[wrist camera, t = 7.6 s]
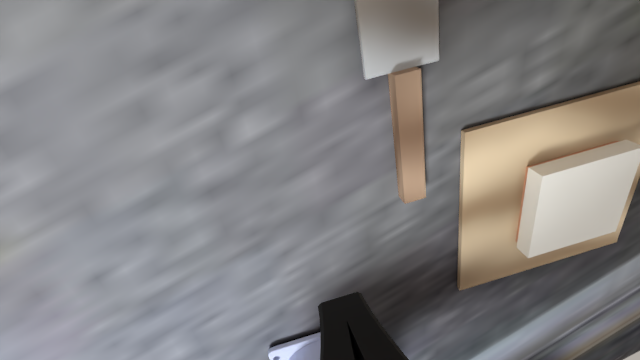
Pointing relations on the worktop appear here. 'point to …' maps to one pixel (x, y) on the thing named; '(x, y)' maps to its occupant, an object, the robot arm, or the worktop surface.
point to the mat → (509, 173)
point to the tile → (575, 197)
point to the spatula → (401, 74)
